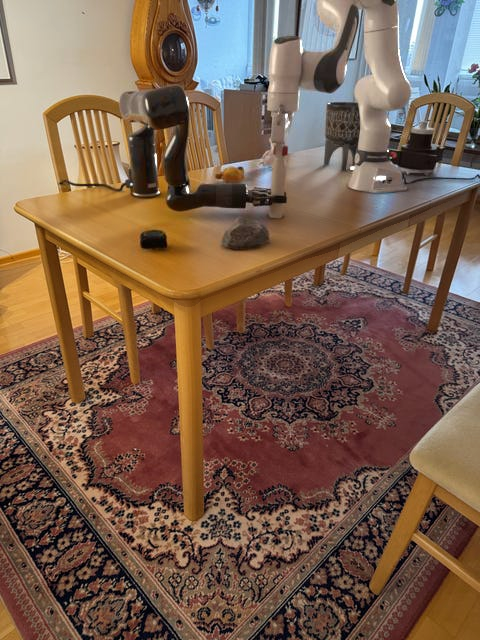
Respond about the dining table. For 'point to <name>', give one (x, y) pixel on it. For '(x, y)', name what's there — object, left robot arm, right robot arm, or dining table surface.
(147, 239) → the tape measure
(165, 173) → the left robot arm
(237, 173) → the toy
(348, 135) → the planter
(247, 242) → the rock
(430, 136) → the mechanical component
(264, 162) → the figurine
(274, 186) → the bottle
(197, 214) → the dining table surface
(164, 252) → the dining table surface
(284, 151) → the cap
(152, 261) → the dining table surface
